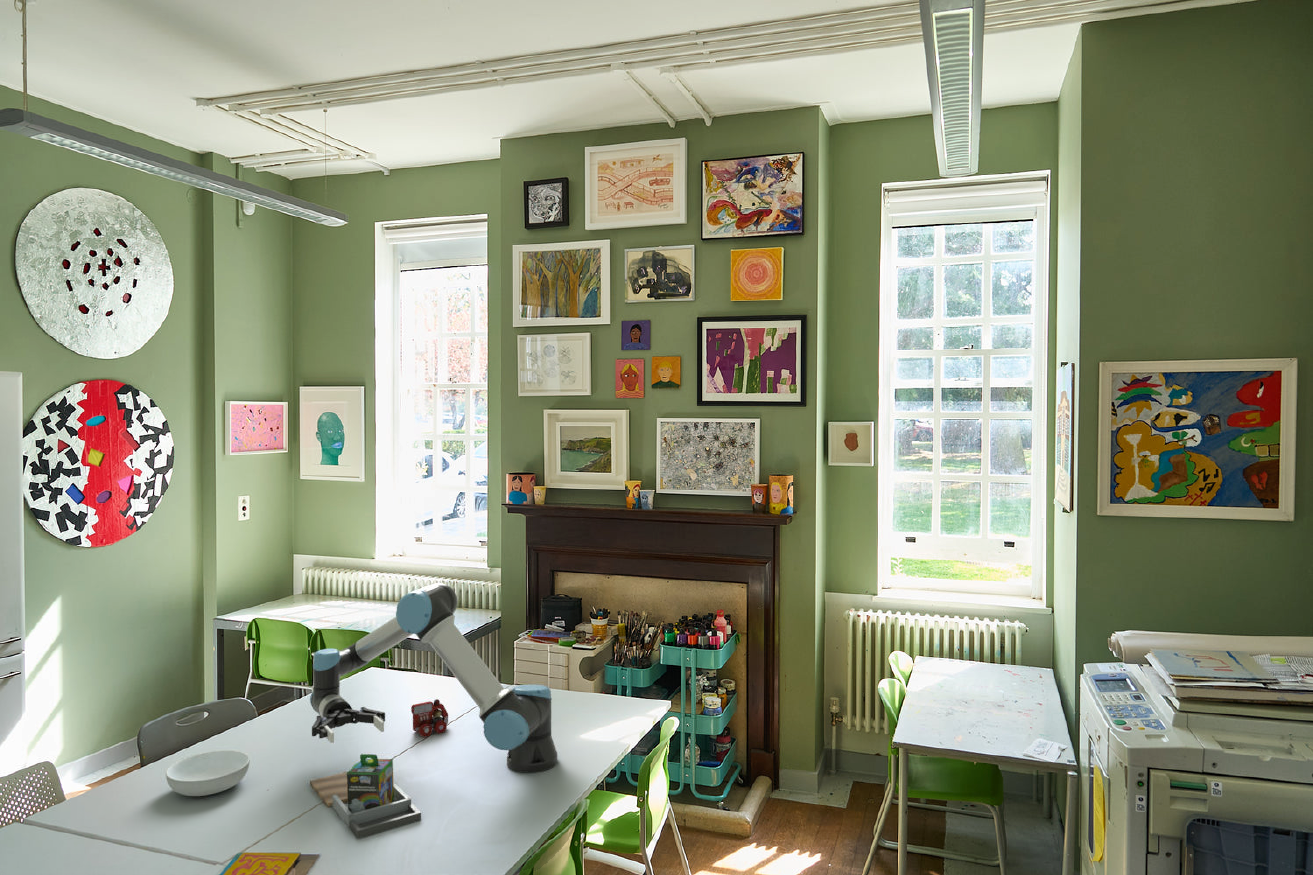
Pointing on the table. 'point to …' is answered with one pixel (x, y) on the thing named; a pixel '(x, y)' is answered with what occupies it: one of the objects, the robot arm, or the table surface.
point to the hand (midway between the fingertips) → (358, 732)
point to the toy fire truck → (429, 717)
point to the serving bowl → (207, 772)
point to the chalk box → (370, 783)
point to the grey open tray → (379, 815)
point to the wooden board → (331, 787)
